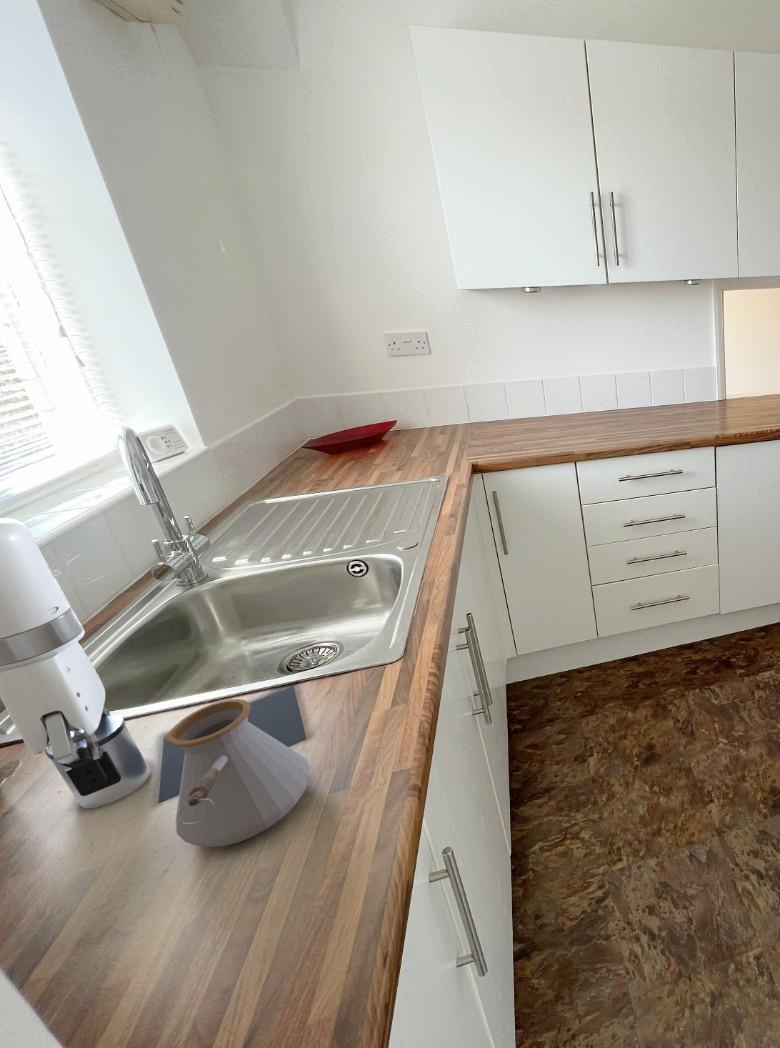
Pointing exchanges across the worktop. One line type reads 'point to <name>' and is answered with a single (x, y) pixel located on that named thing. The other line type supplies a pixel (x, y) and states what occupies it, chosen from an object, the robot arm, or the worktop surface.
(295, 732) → the mat
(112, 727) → the canister
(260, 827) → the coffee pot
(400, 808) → the worktop surface
